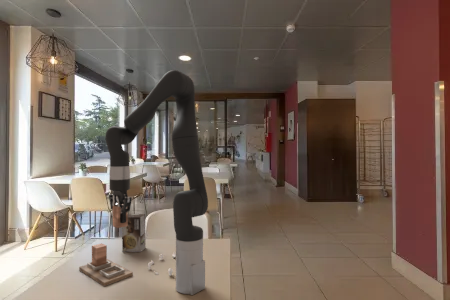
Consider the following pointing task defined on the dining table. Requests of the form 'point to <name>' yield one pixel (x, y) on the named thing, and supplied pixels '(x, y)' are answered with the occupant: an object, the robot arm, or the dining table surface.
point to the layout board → (104, 267)
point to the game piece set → (162, 259)
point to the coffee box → (134, 233)
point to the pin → (118, 217)
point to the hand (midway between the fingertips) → (120, 221)
